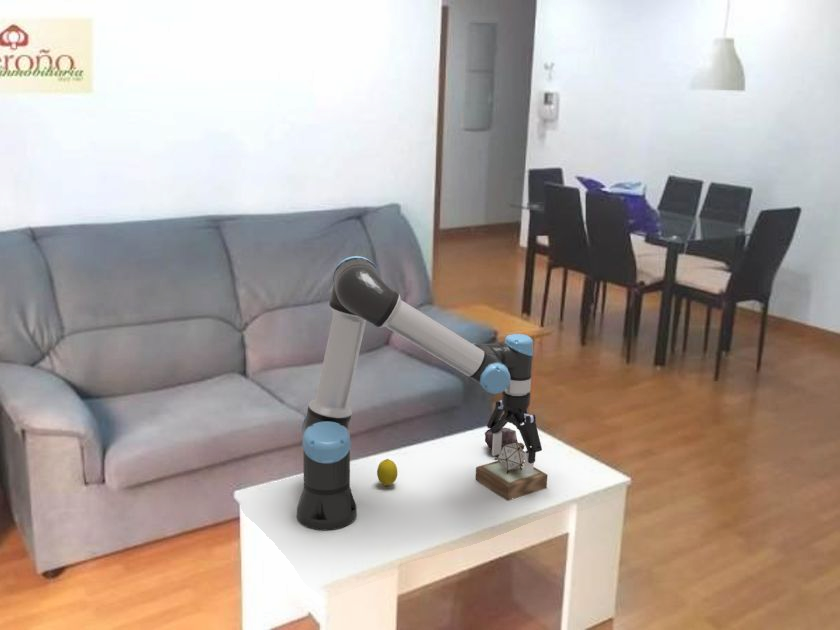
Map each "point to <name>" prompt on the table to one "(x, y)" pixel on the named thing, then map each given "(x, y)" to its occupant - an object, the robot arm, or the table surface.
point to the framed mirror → (510, 480)
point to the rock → (503, 438)
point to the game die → (511, 456)
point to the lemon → (387, 472)
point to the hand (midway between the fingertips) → (512, 463)
